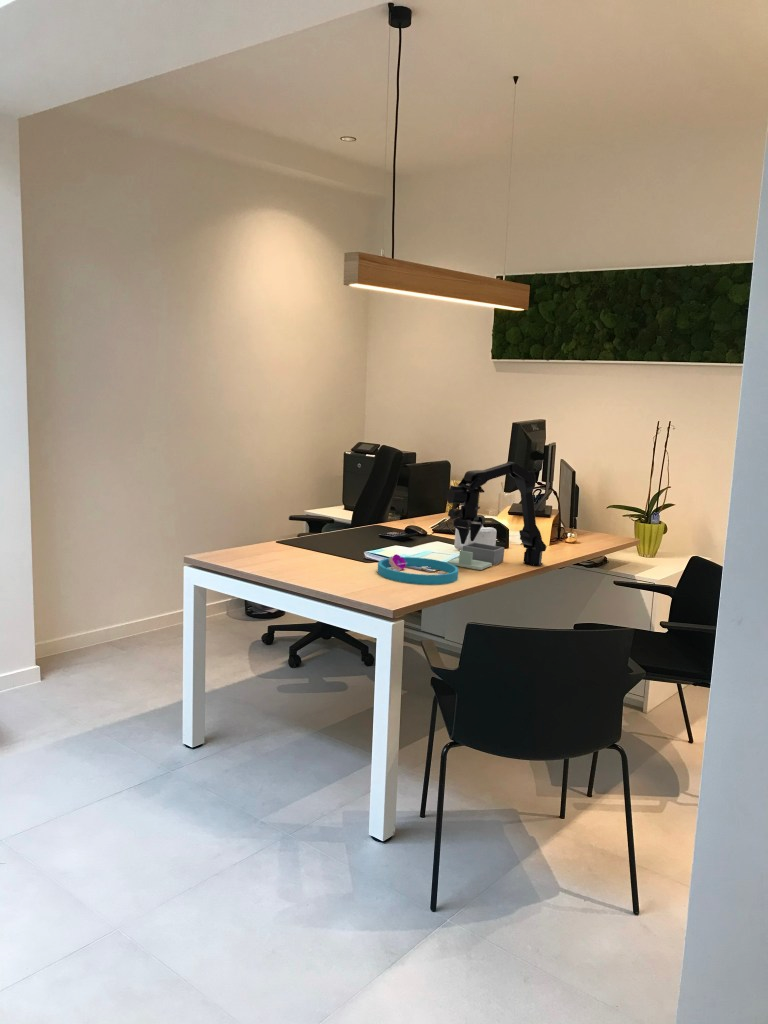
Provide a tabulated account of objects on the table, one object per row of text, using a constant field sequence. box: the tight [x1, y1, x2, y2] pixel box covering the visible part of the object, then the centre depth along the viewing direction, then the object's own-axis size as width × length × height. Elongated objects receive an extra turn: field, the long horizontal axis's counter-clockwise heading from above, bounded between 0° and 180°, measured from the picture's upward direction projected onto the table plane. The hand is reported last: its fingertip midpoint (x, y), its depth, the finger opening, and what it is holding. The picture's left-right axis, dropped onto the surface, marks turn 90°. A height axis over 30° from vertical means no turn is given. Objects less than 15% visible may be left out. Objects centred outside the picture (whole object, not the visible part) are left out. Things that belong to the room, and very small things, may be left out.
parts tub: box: [462, 542, 505, 566], centre depth 341 cm, size 14×11×6 cm
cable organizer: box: [453, 525, 497, 551], centre depth 359 cm, size 15×11×12 cm
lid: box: [447, 550, 492, 571], centre depth 330 cm, size 14×11×7 cm
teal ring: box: [377, 554, 459, 586], centre depth 307 cm, size 30×30×6 cm
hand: (467, 542), depth 325 cm, fingers open, 9 cm apart
